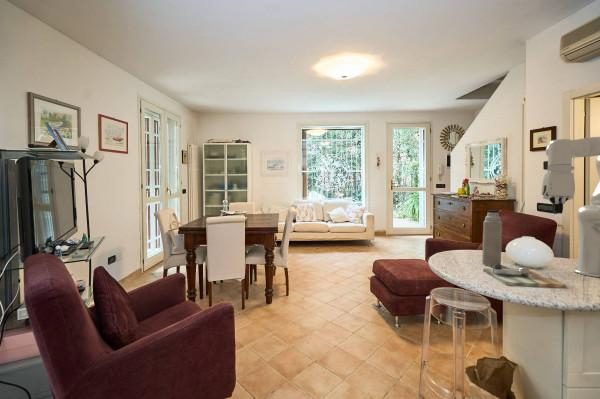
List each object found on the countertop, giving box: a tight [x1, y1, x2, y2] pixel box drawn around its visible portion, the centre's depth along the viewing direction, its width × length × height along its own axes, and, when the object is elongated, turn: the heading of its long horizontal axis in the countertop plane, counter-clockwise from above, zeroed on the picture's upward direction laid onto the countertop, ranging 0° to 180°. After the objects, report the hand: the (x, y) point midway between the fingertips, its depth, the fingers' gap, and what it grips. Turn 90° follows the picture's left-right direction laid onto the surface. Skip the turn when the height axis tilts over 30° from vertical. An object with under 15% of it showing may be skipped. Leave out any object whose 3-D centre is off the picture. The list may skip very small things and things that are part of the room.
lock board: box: [482, 266, 567, 288], centre depth 130 cm, size 22×20×4 cm
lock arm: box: [494, 263, 530, 276], centre depth 131 cm, size 13×4×4 cm, turn 76°
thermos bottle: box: [481, 209, 503, 268], centre depth 151 cm, size 8×8×28 cm
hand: (557, 213), depth 125 cm, fingers closed
